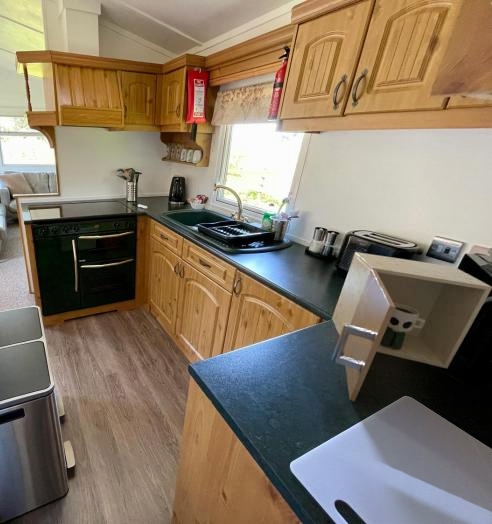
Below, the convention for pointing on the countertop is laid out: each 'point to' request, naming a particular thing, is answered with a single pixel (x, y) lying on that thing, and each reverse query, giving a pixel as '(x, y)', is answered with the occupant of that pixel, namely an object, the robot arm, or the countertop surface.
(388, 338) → the character mug
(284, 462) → the countertop surface
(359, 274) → the cupboard
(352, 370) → the cupboard door
